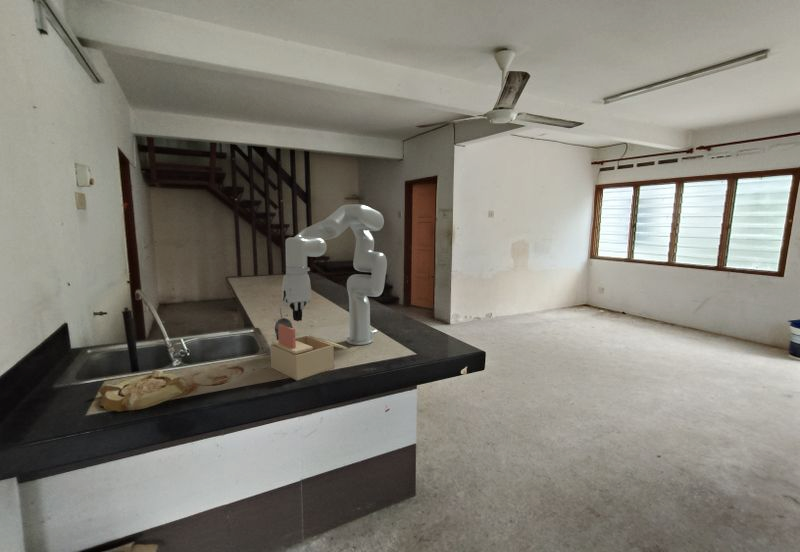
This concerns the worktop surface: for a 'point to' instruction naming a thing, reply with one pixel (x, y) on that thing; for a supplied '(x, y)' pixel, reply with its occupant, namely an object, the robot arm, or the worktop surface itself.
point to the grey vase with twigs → (283, 322)
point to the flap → (289, 340)
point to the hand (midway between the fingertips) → (297, 320)
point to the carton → (303, 359)
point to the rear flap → (329, 342)
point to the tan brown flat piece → (142, 391)
